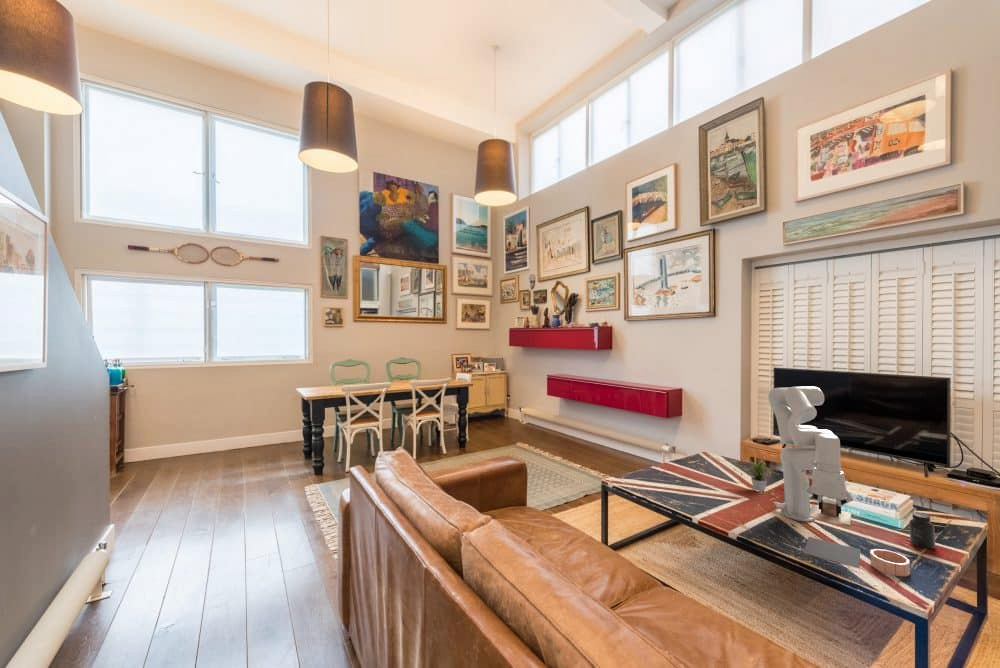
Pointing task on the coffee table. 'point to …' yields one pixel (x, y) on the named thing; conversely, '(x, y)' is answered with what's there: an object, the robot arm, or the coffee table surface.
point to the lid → (830, 513)
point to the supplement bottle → (922, 531)
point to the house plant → (758, 476)
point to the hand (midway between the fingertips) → (830, 512)
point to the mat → (833, 552)
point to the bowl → (890, 562)
